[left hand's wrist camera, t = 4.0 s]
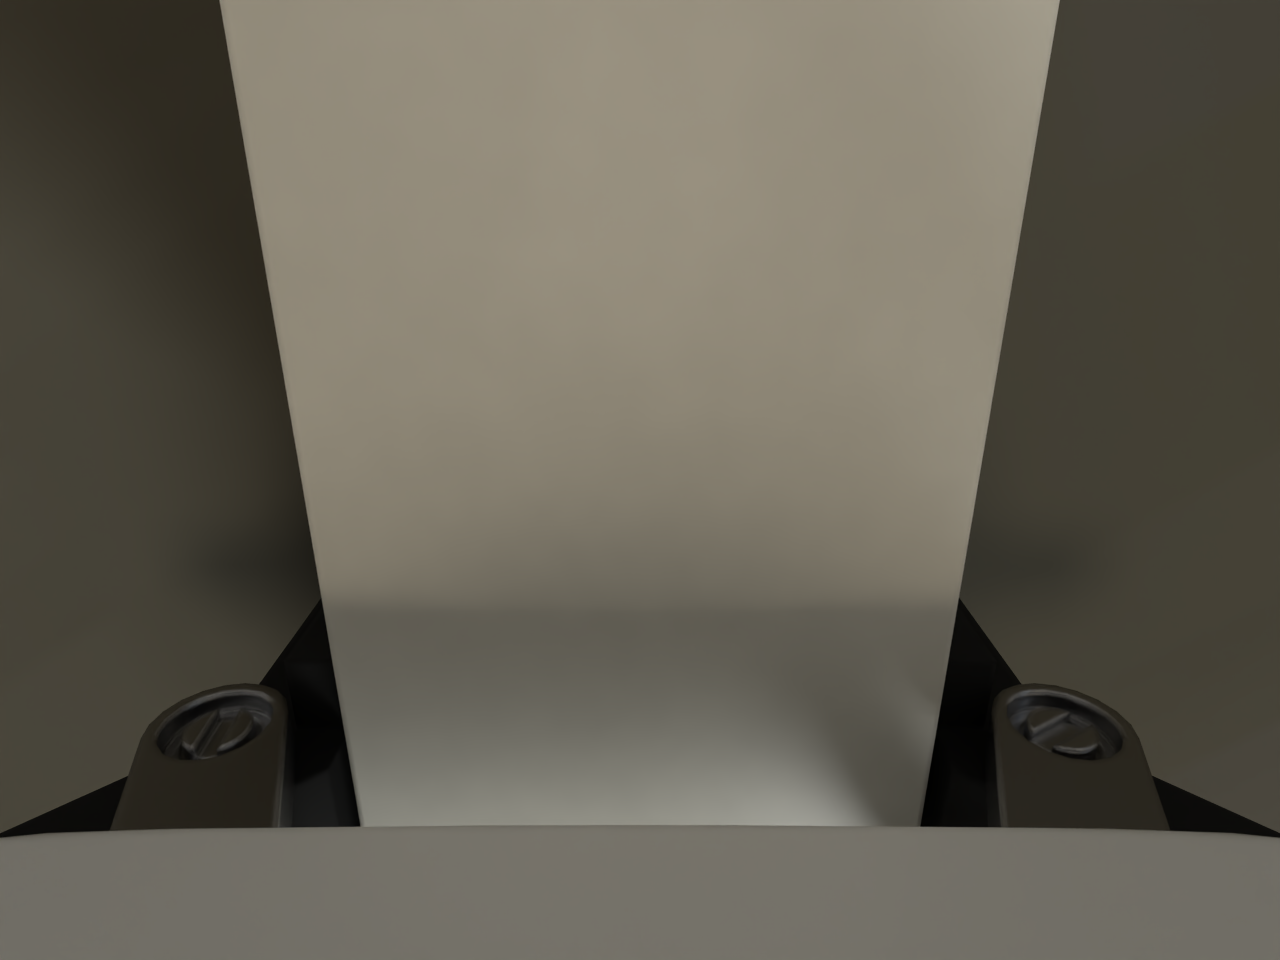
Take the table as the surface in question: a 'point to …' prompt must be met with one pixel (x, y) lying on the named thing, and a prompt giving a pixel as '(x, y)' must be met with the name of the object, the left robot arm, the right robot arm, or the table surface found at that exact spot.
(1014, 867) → the left robot arm
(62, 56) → the table surface
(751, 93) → the post
